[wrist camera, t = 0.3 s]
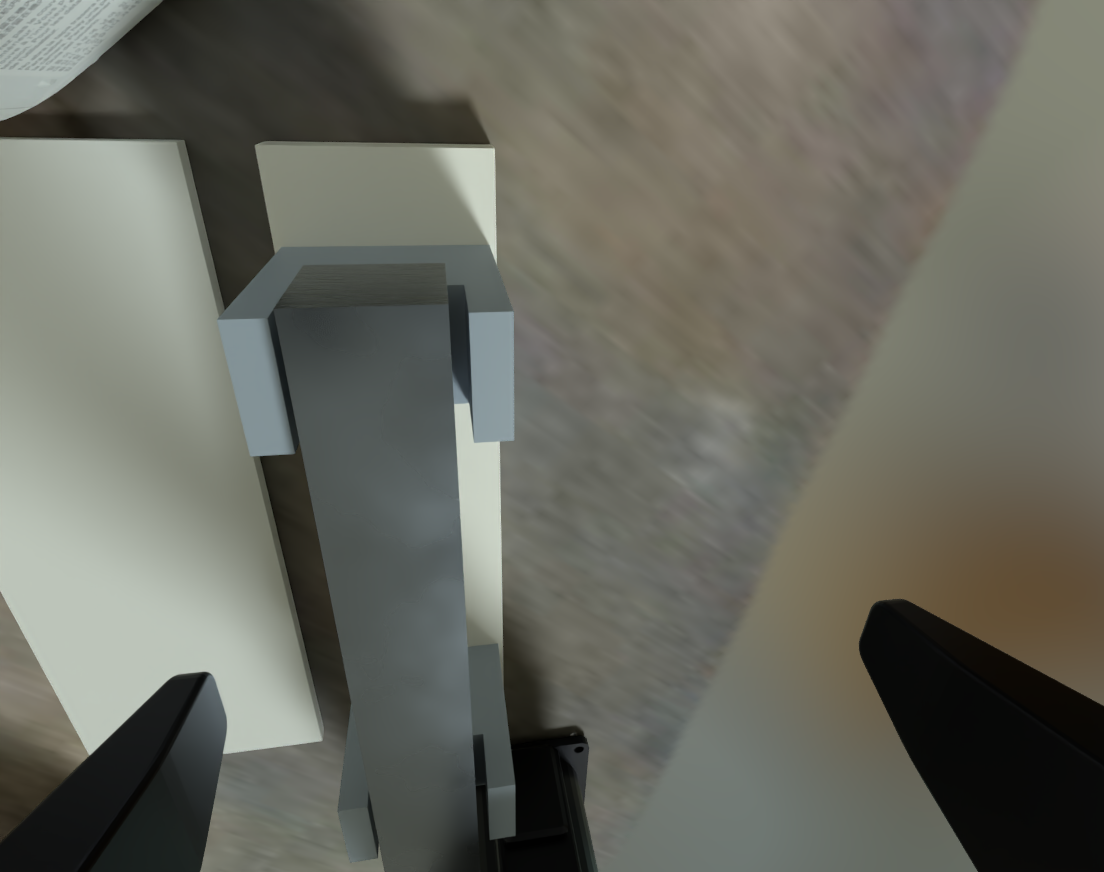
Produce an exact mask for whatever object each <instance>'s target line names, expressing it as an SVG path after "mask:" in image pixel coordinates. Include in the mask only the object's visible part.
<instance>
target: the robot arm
mask: <svg viewBox="0 0 1104 872" xmlns="http://www.w3.org/2000/svg"><path fill="white" fill-rule="evenodd" d="M859 651H860V655H861V658H862V660H863V663H864V665H865V667H866V669H867V671H868V673H869V675H870V677H871V679H872V681H873V683H874V685H875V687H876V689H877V691H878V694H879V696H880V698H881V700H882V702H883V704H884V706H885V708H886V710H887V712H888V714H889V716H890V718H891V720H892V722H893V725H894V727H895V729H896V731H897V733H898V735H899V737H900V739H901V741H902V743H903V745H904V747H905V749H906V751H907V753H908V754H909V757H910V758H911V760H912V762H913V764H914V765H915V767H916V769H917V771H918V773H919V774H920V776H921V778H922V779H923V781H924V783H925V784H926V786H927V788H928V789H929V791H930V793H931V794H932V796H933V798H934V799H935V801H936V803H937V804H938V806H939V808H940V809H941V811H942V813H943V814H944V816H945V818H946V819H947V821H948V823H949V824H950V826H951V828H952V829H953V831H954V833H955V834H956V836H957V837H958V839H959V841H960V843H961V844H962V846H963V848H964V849H965V851H966V853H967V854H968V856H969V858H970V859H971V861H972V863H973V864H974V866H975V868H976V869H977V871H978V872H1104V706H1103V705H1101V704H1099V703H1097V702H1095V701H1093V700H1092V699H1090V698H1088V697H1086V696H1084V695H1083V694H1081V693H1079V692H1077V691H1075V690H1073V689H1071V688H1069V687H1067V686H1065V685H1064V684H1062V683H1060V682H1058V681H1056V680H1055V679H1053V678H1051V677H1049V676H1047V675H1045V674H1043V673H1042V672H1040V671H1038V670H1036V669H1034V668H1032V667H1030V666H1029V665H1027V664H1024V663H1023V662H1021V661H1019V660H1017V659H1015V658H1014V657H1012V656H1010V655H1008V654H1006V653H1004V652H1002V651H1001V650H999V649H997V648H995V647H993V646H991V645H989V644H988V643H986V642H984V641H982V640H980V639H978V638H976V637H974V636H973V635H971V634H969V633H967V632H965V631H963V630H961V629H960V628H958V627H956V626H954V625H952V624H950V623H948V622H947V621H945V620H943V619H941V618H939V617H937V616H935V615H934V614H932V613H930V612H928V611H926V610H924V609H922V608H920V607H919V606H917V605H915V604H913V603H911V602H909V601H907V600H904V599H892V600H883V601H878V602H876V603H875V604H874V605H873V606H872V607H871V610H870V612H869V615H868V618H867V621H866V623H865V626H864V629H863V632H862V634H861V637H860V641H859ZM226 734H227V717H226V713H225V710H224V707H223V703H222V700H221V697H220V694H219V691H218V688H217V684H216V681H215V679H214V677H213V675H212V674H211V673H209V672H196V673H186V674H178V675H175V676H173V677H172V678H170V679H169V680H167V681H166V682H165V683H164V684H163V685H162V686H161V687H160V688H159V689H158V690H157V691H156V692H155V693H154V694H153V695H152V696H151V697H150V698H149V699H148V700H147V701H146V702H145V703H144V704H143V705H141V706H140V707H139V708H138V709H137V710H136V711H135V712H134V713H133V714H132V715H131V716H130V717H129V718H128V719H127V720H126V721H125V722H124V723H123V724H122V725H121V726H120V727H119V728H118V729H117V730H116V731H115V732H114V733H112V734H111V735H110V736H109V737H108V738H107V739H106V740H105V741H104V742H103V743H102V744H101V745H100V746H99V747H98V748H97V749H96V750H95V751H94V752H93V753H92V754H91V755H90V756H89V757H88V758H87V759H86V760H85V761H84V762H82V763H81V764H80V765H79V766H78V767H77V768H76V769H75V770H74V771H73V772H72V773H71V774H70V775H69V776H68V777H67V778H66V779H65V780H64V781H63V782H62V783H61V784H60V785H59V786H58V787H57V788H56V789H55V790H54V791H52V792H51V793H50V794H49V795H48V796H47V797H46V798H45V799H44V800H43V801H42V802H41V803H40V804H39V805H38V806H37V807H36V808H35V809H34V810H33V811H32V812H31V813H30V814H29V815H28V816H27V817H26V818H25V819H24V820H22V821H21V822H20V823H19V824H18V825H17V826H16V827H15V828H14V829H13V830H12V831H11V832H10V833H9V834H8V835H7V836H6V837H5V838H4V839H3V840H2V841H1V842H0V872H200V870H201V866H202V861H203V856H204V851H205V847H206V842H207V836H208V831H209V825H210V820H211V815H212V809H213V804H214V799H215V793H216V788H217V783H218V777H219V772H220V767H221V761H222V756H223V750H224V745H225V740H226ZM511 753H512V762H513V770H514V778H515V836H511V837H505V838H499V839H493V840H490V836H489V823H488V811H487V798H486V785H479V786H475V787H476V805H477V822H478V840H479V858H480V872H598V868H597V863H596V859H595V854H594V849H593V845H592V840H591V835H590V831H589V826H588V821H587V817H586V812H585V807H584V798H585V786H586V775H587V764H588V753H589V747H588V742H587V739H586V738H585V737H583V736H575V737H568V738H561V739H554V740H547V741H539V742H532V743H525V744H518V745H511Z"/></svg>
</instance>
